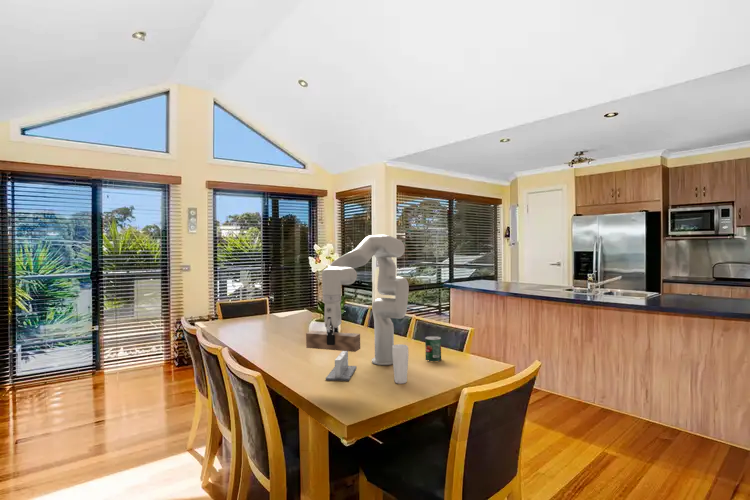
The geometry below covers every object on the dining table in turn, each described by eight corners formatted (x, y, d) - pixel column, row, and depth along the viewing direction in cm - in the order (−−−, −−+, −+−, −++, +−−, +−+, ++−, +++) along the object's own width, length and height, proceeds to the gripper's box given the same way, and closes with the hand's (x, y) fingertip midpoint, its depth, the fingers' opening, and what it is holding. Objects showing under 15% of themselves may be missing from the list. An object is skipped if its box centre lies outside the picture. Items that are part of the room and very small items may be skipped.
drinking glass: (404, 385, 156) (403, 349, 156) (389, 383, 160) (389, 347, 160) (411, 380, 162) (411, 345, 162) (397, 378, 165) (396, 343, 165)
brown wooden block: (360, 348, 155) (360, 333, 155) (355, 351, 151) (355, 336, 151) (312, 344, 163) (312, 330, 163) (306, 347, 158) (306, 333, 158)
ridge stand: (356, 368, 181) (356, 350, 181) (348, 381, 163) (348, 361, 163) (335, 367, 182) (335, 349, 182) (325, 380, 164) (325, 360, 164)
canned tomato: (422, 359, 193) (421, 337, 193) (432, 356, 198) (432, 335, 198) (434, 362, 187) (434, 340, 187) (444, 359, 192) (444, 337, 192)
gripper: (335, 301, 148) (337, 348, 148) (345, 295, 165) (346, 337, 165) (316, 301, 149) (318, 348, 149) (328, 295, 166) (329, 337, 166)
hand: (332, 342), depth 157 cm, fingers closed on brown wooden block, 5 cm apart
